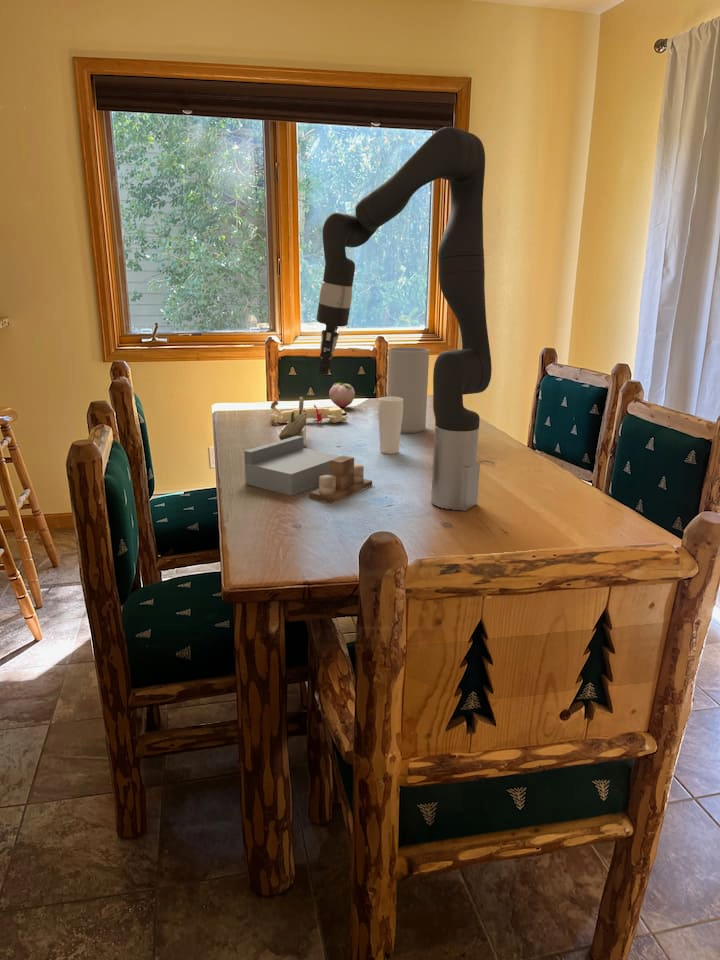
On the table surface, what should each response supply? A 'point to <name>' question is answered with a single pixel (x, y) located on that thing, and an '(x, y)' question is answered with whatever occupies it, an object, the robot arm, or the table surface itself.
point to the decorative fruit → (342, 394)
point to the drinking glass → (390, 423)
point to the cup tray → (341, 480)
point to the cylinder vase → (409, 384)
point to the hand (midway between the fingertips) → (324, 370)
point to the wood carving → (296, 425)
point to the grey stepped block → (286, 466)
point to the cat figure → (309, 414)
